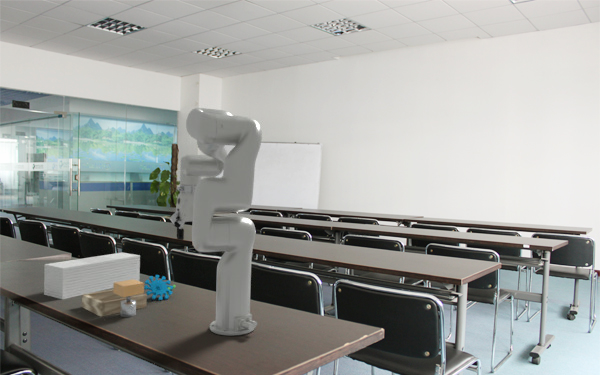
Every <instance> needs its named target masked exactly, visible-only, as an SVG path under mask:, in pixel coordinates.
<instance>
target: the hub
mask: <svg viewBox="0 0 600 375" xmlns="http://www.w3.org/2000/svg"><path fill="white" fill-rule="evenodd" d="M144 287H145V282H142V281H137V280H134V279H133V280H126V281H120V282H114V288H112V289H113V293H115V294H117V295H119V296H122V297H127V296H137V295H142V294H145V289H144Z"/></svg>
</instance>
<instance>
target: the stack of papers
mask: <svg viewBox="0 0 600 375" xmlns="http://www.w3.org/2000/svg"><path fill="white" fill-rule="evenodd" d="M43 267H44V269H43V271H44V272H43V273H44V274H43V275H44V279H43V281H44V282H43V295H45V296H48V297H52V298H55V299H60V300H67V299H70V298H75V297H79V296H82V294H88V293H94V292H100V291H106V290H111V289H113V288H114V282H120V281H126V280H133V279H134V280H137V281H140V279H141V278H140V276H141V275H140V273H141V272H140V269H141V255H140V254H134V253H127V252H116V253H111V254H110V253H109V254H104V255H97V256H90V257H84V258H77V259H72V260H65V261H59V262H58V261H57V262H50V263H45V264H44V266H43ZM140 282H141V281H140Z"/></svg>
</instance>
